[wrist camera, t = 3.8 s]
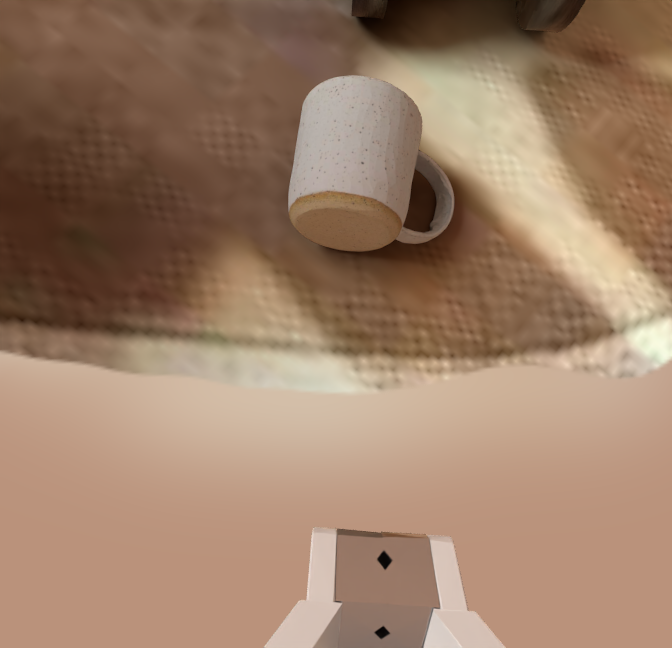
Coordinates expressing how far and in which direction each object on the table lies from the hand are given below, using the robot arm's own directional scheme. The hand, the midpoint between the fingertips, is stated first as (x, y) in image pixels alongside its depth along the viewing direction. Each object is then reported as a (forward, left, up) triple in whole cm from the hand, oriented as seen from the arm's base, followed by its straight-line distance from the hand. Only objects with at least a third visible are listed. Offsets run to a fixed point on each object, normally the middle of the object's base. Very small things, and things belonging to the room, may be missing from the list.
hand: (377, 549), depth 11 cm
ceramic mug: (+15, +12, -19) cm, 27 cm away
